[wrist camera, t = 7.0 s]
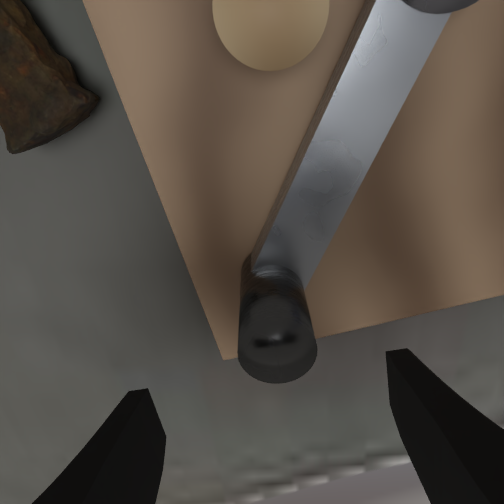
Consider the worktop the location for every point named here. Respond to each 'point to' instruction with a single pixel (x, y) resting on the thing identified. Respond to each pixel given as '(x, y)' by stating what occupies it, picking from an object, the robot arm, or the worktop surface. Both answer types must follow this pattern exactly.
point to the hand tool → (35, 84)
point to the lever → (330, 179)
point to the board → (287, 145)
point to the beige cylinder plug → (270, 30)
